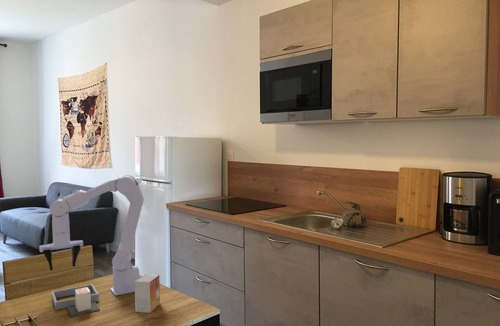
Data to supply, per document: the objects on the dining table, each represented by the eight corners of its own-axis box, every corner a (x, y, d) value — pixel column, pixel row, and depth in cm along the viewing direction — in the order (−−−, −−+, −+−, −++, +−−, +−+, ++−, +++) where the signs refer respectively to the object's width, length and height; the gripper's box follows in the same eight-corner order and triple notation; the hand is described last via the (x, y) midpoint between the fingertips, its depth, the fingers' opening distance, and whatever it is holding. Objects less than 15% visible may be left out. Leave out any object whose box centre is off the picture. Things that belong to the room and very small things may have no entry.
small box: (150, 313, 133) (149, 282, 133) (135, 312, 134) (134, 281, 134) (160, 303, 141) (159, 274, 141) (145, 302, 142) (145, 273, 142)
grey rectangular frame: (92, 290, 155) (92, 284, 155) (98, 300, 145) (98, 293, 144) (52, 298, 147) (51, 291, 147) (55, 309, 137) (55, 302, 137)
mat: (94, 302, 143) (94, 301, 143) (99, 310, 136) (99, 309, 136) (67, 308, 138) (67, 307, 138) (70, 316, 131) (70, 315, 131)
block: (87, 304, 141) (87, 286, 140) (91, 308, 136) (90, 291, 136) (75, 306, 138) (74, 289, 138) (78, 311, 134) (77, 293, 134)
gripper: (80, 227, 156) (81, 261, 157) (38, 232, 149) (39, 268, 149) (83, 230, 150) (84, 266, 151) (39, 236, 143) (41, 273, 143)
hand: (62, 267), depth 150 cm, fingers open, 7 cm apart
